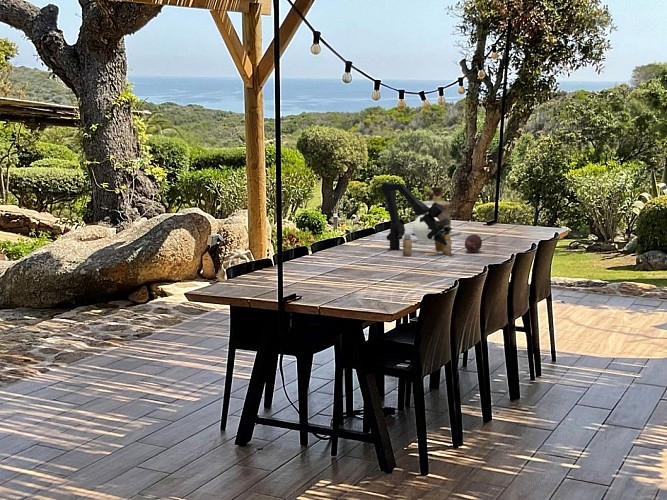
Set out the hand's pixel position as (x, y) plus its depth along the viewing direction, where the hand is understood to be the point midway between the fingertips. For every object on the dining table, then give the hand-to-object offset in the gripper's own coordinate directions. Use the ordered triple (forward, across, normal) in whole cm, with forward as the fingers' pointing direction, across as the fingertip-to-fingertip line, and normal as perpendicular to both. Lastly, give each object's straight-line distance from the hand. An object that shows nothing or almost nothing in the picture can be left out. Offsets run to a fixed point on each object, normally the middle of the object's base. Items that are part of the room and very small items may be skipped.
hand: (448, 244), depth 477 cm
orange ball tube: (+4, 0, +6) cm, 7 cm away
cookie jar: (-30, +71, +40) cm, 87 cm away
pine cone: (+8, +22, +2) cm, 23 cm away
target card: (-4, -10, +14) cm, 18 cm away
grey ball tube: (-8, -17, +16) cm, 24 cm away
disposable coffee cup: (-5, +15, +14) cm, 22 cm away
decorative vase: (-20, +37, +30) cm, 52 cm away
